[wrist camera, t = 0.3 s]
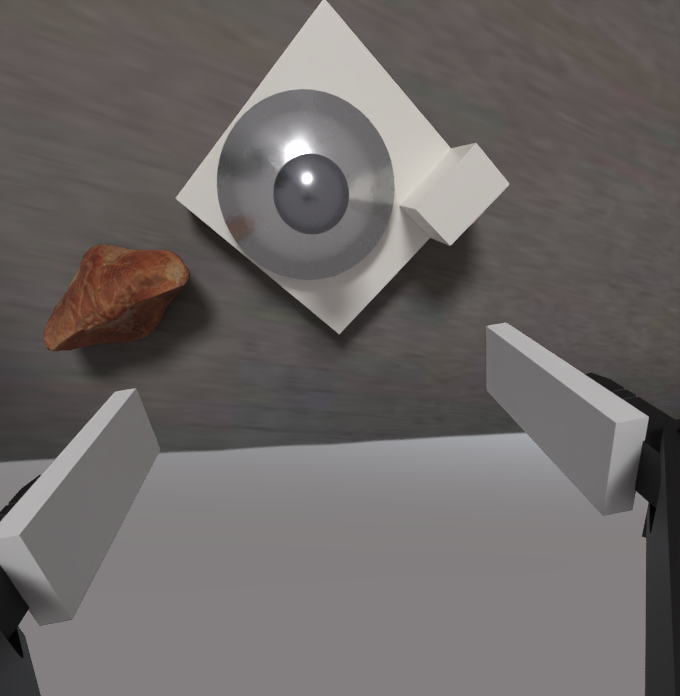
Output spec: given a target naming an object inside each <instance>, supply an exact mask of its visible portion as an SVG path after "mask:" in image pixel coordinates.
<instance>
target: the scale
mask: <svg viewBox="0 0 680 696" xmlns="http://www.w3.org/2000/svg"><path fill="white" fill-rule="evenodd" d="M297 89H310V90H317V91H322V92H327V93H329V94H332V95H335V96H338V97H340V98H341V99H343V100H345V101H347V102H349V103H350V104H352V105H353V106H354V107H356V108H357V109H358V110H360V111H361V112H362V113H363V114H364V115H365V116H366V117H367V118H368V119H369V120H370V121H371V123H372V124H373V125H374V126H375V128H376V129H377V131H378V132H379V134H380V136H381V137H382V139H383V141H384V143H385V145H386V148H387V150H388V152H389V156H390V159H391V162H392V167H393V173H394V184H395V192H394V203H393V208H392V213H391V216H390V219H389V222H388V225H387V227H386V229H385V231H384V233H383V235H382V237H381V238H380V240H379V242H378V243H377V245H376V246H375V247H374V248H373V250H372V251H371V252H370V253H369V254H368V255H367V256H366V257H365V258H364V259H363V260H362V261H360V262H359V263H358V264H356V265H355V266H354V267H352V268H350V269H348V270H347V271H345V272H343V273H340V274H338V275H335V276H332V277H328V278H324V279H317V280H300V279H292V278H288V277H285V276H281V275H279V274H276V273H274V272H271V271H270V270H268V269H266V268H264V267H262V266H261V265H259V264H258V263H257V262H255V261H254V260H253V259H252V258H251V257H249V256H248V255H247V254H246V253H245V252H244V251H243V250H242V248H241V247H240V246H239V245H238V244H237V242H236V241H235V239H234V238H233V236H232V235H231V233H230V231H229V229H228V227H227V225H226V223H225V221H224V218H223V215H222V212H221V209H220V205H219V200H218V193H217V170H218V164H219V158H220V155H221V152H222V148H223V145H224V143H225V141H226V139H227V137H228V135H229V133H230V131H231V130H232V128H233V127H234V125H235V124H236V122H237V121H238V120H239V119H240V118H241V117H242V115H243V114H244V113H245V112H247V111H248V110H249V109H250V108H251V107H252V106H254V105H255V104H257V103H258V102H260V101H261V100H263V99H265V98H267V97H269V96H272V95H274V94H276V93H280V92H284V91H288V90H297ZM508 185H509V183H508V182H507V180H506V179H505V178H504V177H503V175H502V174H501V173H500V172H499V170H498V169H497V168H496V167H495V165H494V164H493V163H492V162H491V161H490V159H489V158H488V157H487V156H486V154H485V153H484V152H483V151H482V149H481V148H480V147H479V146H478V144H477V143H473V144H469V145H464V146H460V147H456V148H450V147H449V146H448V144H447V143H446V142H445V141H444V140H443V139H442V137H441V136H440V135H439V134H438V133H437V131H436V130H435V129H434V128H433V127H432V125H431V124H430V123H429V122H428V121H427V120H426V118H425V117H424V116H423V115H422V114H421V112H420V111H419V110H418V109H417V108H416V107H415V105H414V104H413V103H412V102H411V101H410V99H409V98H408V97H407V96H406V95H405V93H404V92H403V91H402V90H401V89H400V88H399V86H398V85H397V84H396V83H395V82H394V80H393V79H392V78H391V77H390V76H389V74H388V73H387V72H386V71H385V70H384V69H383V67H382V66H381V65H380V64H379V63H378V61H377V60H376V59H375V58H374V57H373V55H372V54H371V53H370V52H369V51H368V50H367V48H366V47H365V46H364V45H363V44H362V42H361V41H360V40H359V39H358V38H357V37H356V35H355V34H354V33H353V32H352V31H351V29H350V28H349V27H348V26H347V25H346V23H345V22H344V21H343V20H342V19H341V18H340V16H339V15H338V14H337V13H336V12H335V10H334V9H333V8H332V7H331V6H330V4H329V3H328V2H327V1H326V0H322V2H321V3H320V4H319V6H318V7H317V8H316V10H315V11H314V13H313V14H312V15H311V17H310V18H309V19H308V21H307V22H306V23H305V25H304V26H303V27H302V29H301V30H300V31H299V33H298V34H297V35H296V37H295V38H294V39H293V41H292V42H291V43H290V45H289V46H288V48H287V49H286V50H285V52H284V53H283V54H282V56H281V57H280V58H279V60H278V61H277V62H276V64H275V65H274V66H273V68H272V69H271V70H270V72H269V73H268V74H267V76H266V77H265V79H264V80H263V81H262V83H261V84H260V85H259V87H258V88H257V89H256V91H255V92H254V93H253V95H252V96H251V97H250V99H249V100H248V101H247V103H246V104H245V105H244V107H243V108H242V110H241V111H240V112H239V114H238V115H237V116H236V118H235V119H234V120H233V122H232V123H231V124H230V126H229V127H228V128H227V130H226V131H225V132H224V134H223V135H222V136H221V138H220V139H219V140H218V142H217V143H216V145H215V146H214V147H213V149H212V150H211V151H210V153H209V154H208V155H207V157H206V158H205V159H204V161H203V162H202V163H201V165H200V166H199V167H198V169H197V170H196V171H195V173H194V174H193V176H192V177H191V178H190V180H189V181H188V182H187V184H186V185H185V186H184V188H183V189H182V190H181V192H180V193H179V194H178V196H177V197H176V199H177V200H178V201H179V202H181V203H182V204H183V205H184V206H185V207H187V208H188V209H189V210H190V211H191V212H193V213H194V214H195V215H196V216H197V217H199V218H200V219H201V220H202V221H203V222H205V223H206V224H207V225H208V226H209V227H211V228H212V229H213V230H214V231H215V232H217V233H218V234H219V235H220V236H221V237H223V238H224V239H225V240H226V241H227V242H229V243H230V244H231V245H232V246H233V247H235V248H236V249H237V250H238V251H240V252H241V253H242V254H243V255H244V256H246V257H247V258H248V259H249V260H250V261H252V262H253V263H254V264H255V265H256V266H258V267H259V268H260V269H261V270H262V271H264V272H265V273H266V274H267V275H268V276H270V277H271V278H272V279H273V280H274V281H276V282H277V283H278V284H279V285H280V286H282V287H283V288H284V289H285V290H286V291H288V292H289V293H290V294H291V295H292V296H294V297H295V298H296V299H297V300H299V301H300V302H301V303H302V304H303V305H305V306H306V307H307V308H308V309H309V310H311V311H312V312H313V313H314V314H315V315H317V316H318V317H319V318H320V319H321V320H323V321H324V322H325V323H326V324H327V325H329V326H330V327H331V328H332V329H333V330H335V331H336V332H337V333H338V334H340V333H341V332H342V331H343V330H344V329H345V328H346V327H347V326H348V325H349V324H350V322H351V321H352V320H353V319H354V318H355V317H356V316H357V315H358V314H359V313H360V312H361V311H362V310H363V309H364V308H365V307H366V305H367V304H368V303H369V302H370V301H371V300H372V299H373V298H374V297H375V296H376V295H377V294H378V293H379V292H380V291H381V290H382V289H383V287H384V286H385V285H386V284H387V283H388V282H389V281H390V280H391V279H392V278H393V277H394V276H395V275H396V274H397V273H398V272H399V270H400V269H401V268H402V267H403V266H404V265H405V264H406V263H407V262H408V261H409V260H410V259H411V258H412V257H413V256H414V255H415V253H416V252H417V251H418V250H419V249H420V248H421V247H422V246H423V245H424V244H425V243H426V242H427V241H428V240H429V239H430V238H432V239H434V240H437V241H439V242H442V243H444V244H447V245H449V246H451V245H452V244H453V243H454V242H455V241H456V240H457V238H458V237H459V236H460V235H461V234H462V233H463V232H464V231H465V230H466V229H467V228H468V227H469V226H470V225H472V224H473V223H474V222H475V221H477V220H478V218H479V217H480V216H481V215H482V213H483V212H484V211H485V210H486V208H487V207H488V206H489V205H490V204H491V203H492V202H493V201H494V200H495V199H496V198H497V197H498V196H499V195H500V194H501V193H502V192H503V191H504V190H505V189H506V188H507V187H508Z"/></svg>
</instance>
